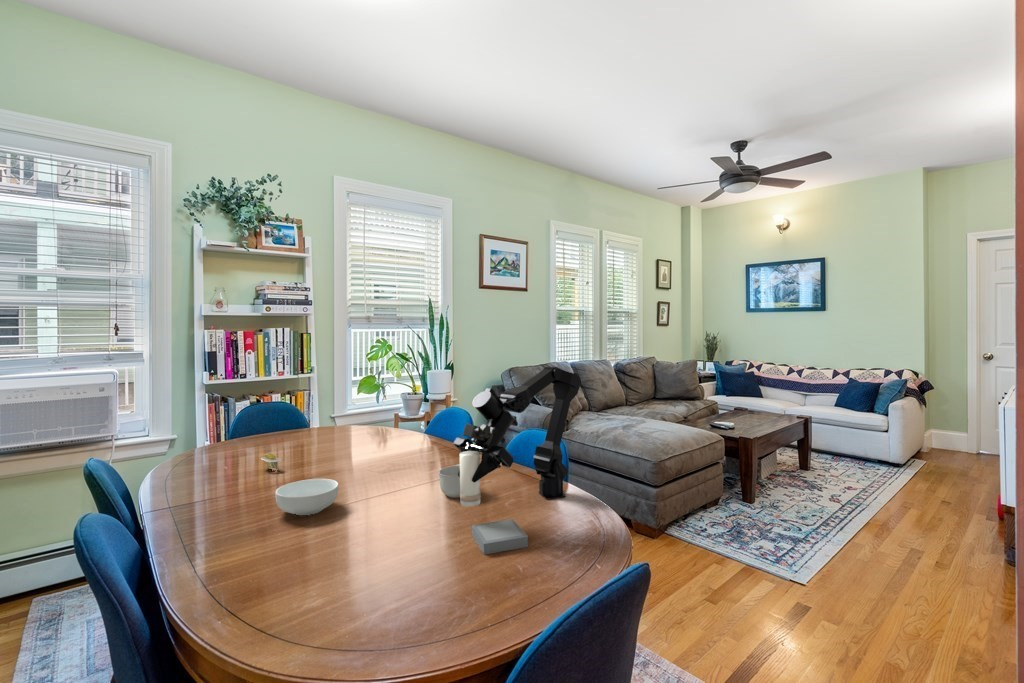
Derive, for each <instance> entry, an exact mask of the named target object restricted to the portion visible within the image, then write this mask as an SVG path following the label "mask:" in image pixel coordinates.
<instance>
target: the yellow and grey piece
mask: <svg viewBox="0 0 1024 683" xmlns="http://www.w3.org/2000/svg"><path fill="white" fill-rule="evenodd" d="M260 460H262V461H264V462H266V464H267V469H271V468H276V469H278V462H281V461H282V459H281V458H278V457H277V454H274V453H272V452H268V454H266V453H264V454H263V456H261V457H260ZM278 470H279V469H278Z"/></svg>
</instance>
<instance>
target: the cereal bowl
mask: <svg viewBox="0 0 1024 683" xmlns="http://www.w3.org/2000/svg"><path fill="white" fill-rule="evenodd" d="M339 486H340V485H339V483H338V481H336V480H334V479H330V478H310V479H309V478H308V479H302V480H297V481H293V482H289V483H287V484H284V485H281V486H280V487H278V488H277V489H275V495H274V496H275V501H276V502H275V503H276V505H277V506H278V508H279V509H280V510H281V511H282V512H286V513H287V514H288V513H289V514H293V515H294V514H296V515H308V516H311V515H310V514H313V515H315V513H316V514H318V513H320V512H322V511H323V510H324V509H326V508H328V507H329V506H332V504H333V503H335V501H336V500H337V498H338V495H339ZM296 515H295V516H296Z"/></svg>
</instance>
